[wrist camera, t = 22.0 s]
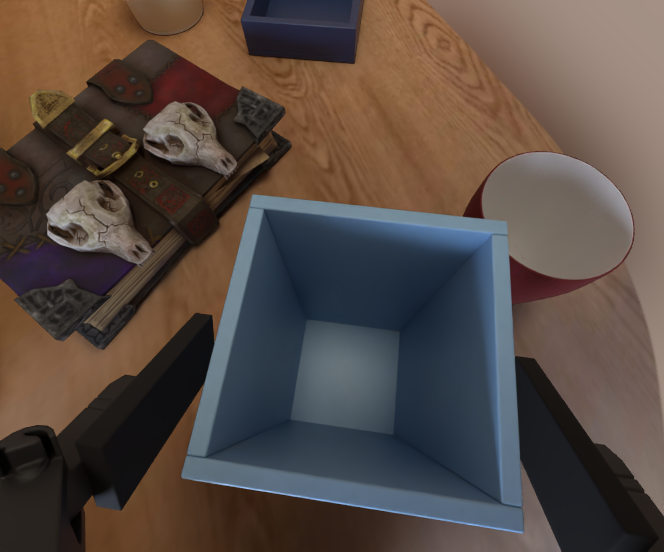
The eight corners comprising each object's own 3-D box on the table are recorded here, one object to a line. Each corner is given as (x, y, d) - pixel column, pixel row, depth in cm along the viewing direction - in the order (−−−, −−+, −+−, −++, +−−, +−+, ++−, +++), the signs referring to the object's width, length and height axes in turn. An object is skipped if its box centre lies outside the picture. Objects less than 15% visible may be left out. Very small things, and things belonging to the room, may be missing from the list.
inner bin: (399, 443, 22) (525, 534, 7) (283, 425, 23) (179, 478, 8) (405, 326, 25) (507, 220, 10) (301, 313, 26) (251, 193, 11)
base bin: (354, 63, 36) (356, 28, 32) (249, 55, 36) (240, 20, 33) (364, -6, 40) (367, -43, 36) (269, -12, 40) (263, -50, 37)
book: (170, 70, 36) (130, -8, 29) (299, 149, 32) (289, 81, 25) (-54, 250, 29) (-178, 204, 22) (77, 380, 25) (-22, 374, 18)
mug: (531, 216, 29) (624, 128, 20) (577, 302, 26) (712, 249, 17) (416, 244, 28) (456, 166, 19) (452, 336, 25) (519, 299, 16)
